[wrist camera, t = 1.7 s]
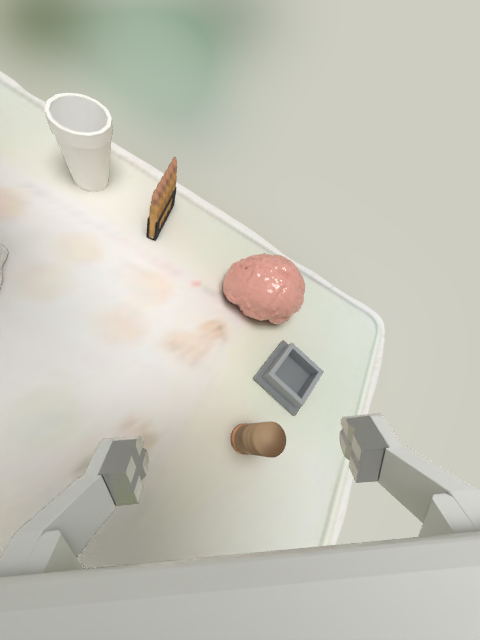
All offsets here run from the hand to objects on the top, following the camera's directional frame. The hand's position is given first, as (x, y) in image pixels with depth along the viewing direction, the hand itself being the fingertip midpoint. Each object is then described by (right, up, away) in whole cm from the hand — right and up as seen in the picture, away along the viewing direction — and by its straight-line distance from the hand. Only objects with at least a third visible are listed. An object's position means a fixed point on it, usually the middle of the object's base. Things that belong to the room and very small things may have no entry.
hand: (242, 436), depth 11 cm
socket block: (+9, -6, +42) cm, 44 cm away
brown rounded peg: (+1, -15, +36) cm, 39 cm away
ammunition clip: (-17, +25, +47) cm, 56 cm away
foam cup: (-30, +33, +45) cm, 63 cm away
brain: (+3, +9, +47) cm, 48 cm away
